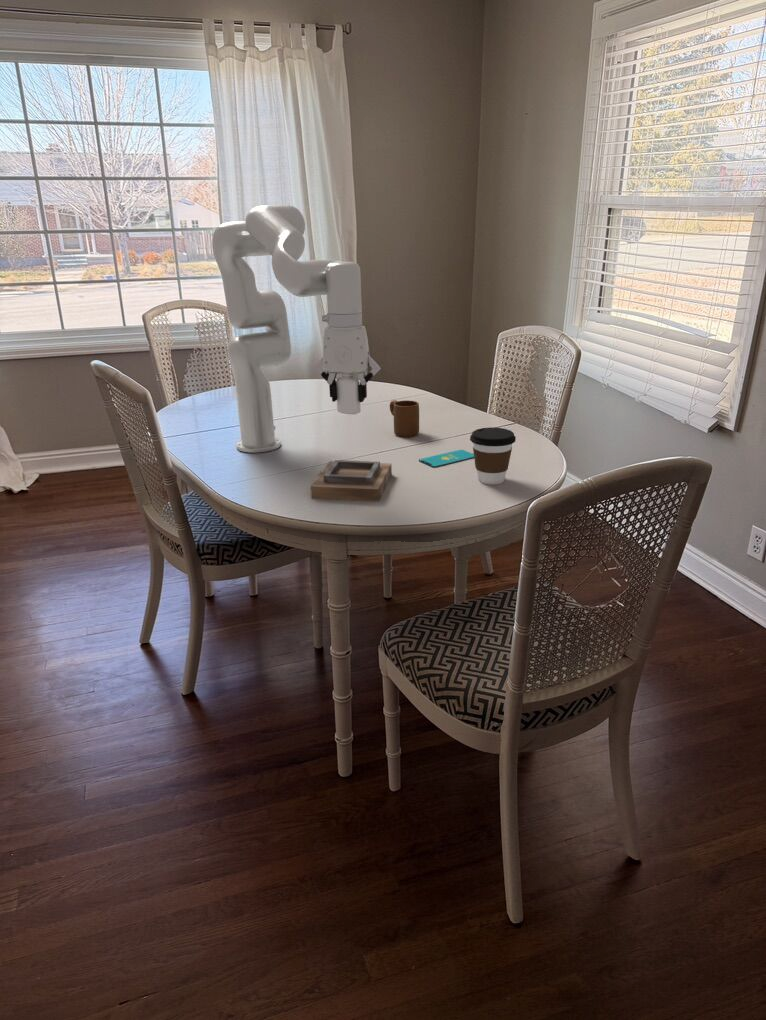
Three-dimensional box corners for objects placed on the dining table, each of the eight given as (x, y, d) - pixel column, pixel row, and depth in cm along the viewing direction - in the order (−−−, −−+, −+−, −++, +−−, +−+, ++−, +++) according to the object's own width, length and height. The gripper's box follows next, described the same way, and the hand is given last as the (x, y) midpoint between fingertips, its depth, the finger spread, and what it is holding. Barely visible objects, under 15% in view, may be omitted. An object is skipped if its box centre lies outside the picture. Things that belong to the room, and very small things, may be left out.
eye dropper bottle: (352, 408, 168) (350, 357, 163) (362, 413, 163) (360, 361, 159) (335, 410, 166) (333, 359, 162) (345, 416, 162) (342, 363, 157)
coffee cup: (459, 480, 174) (460, 433, 169) (487, 469, 181) (488, 424, 176) (495, 491, 166) (497, 442, 162) (522, 479, 173) (525, 432, 169)
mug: (380, 430, 216) (380, 400, 212) (401, 425, 219) (400, 396, 216) (403, 439, 206) (403, 408, 203) (424, 434, 210) (424, 403, 206)
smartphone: (478, 455, 190) (433, 466, 182) (478, 458, 190) (433, 469, 183) (461, 449, 196) (417, 459, 188) (461, 451, 196) (417, 462, 188)
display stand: (330, 472, 182) (329, 455, 180) (391, 474, 179) (391, 457, 177) (311, 498, 165) (310, 480, 164) (378, 501, 162) (378, 483, 161)
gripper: (303, 323, 155) (308, 403, 162) (380, 323, 152) (382, 405, 159) (312, 318, 162) (317, 395, 169) (386, 318, 159) (387, 397, 166)
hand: (348, 399), depth 164 cm, fingers closed on eye dropper bottle, 5 cm apart
